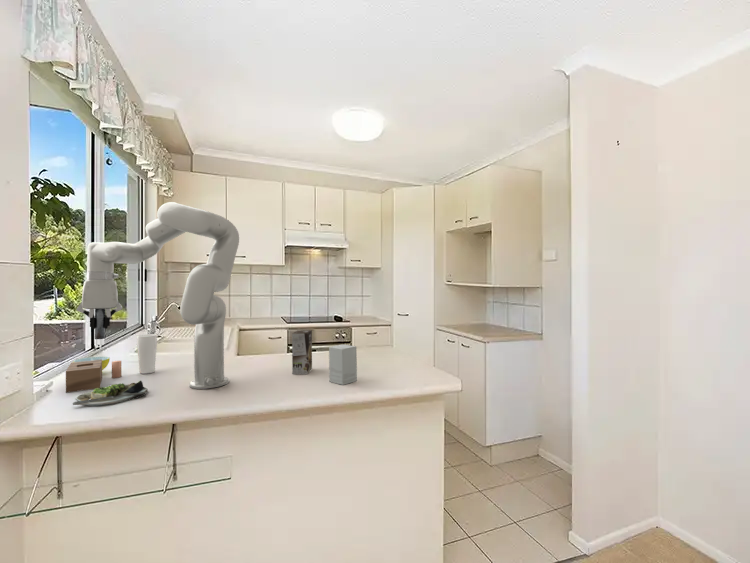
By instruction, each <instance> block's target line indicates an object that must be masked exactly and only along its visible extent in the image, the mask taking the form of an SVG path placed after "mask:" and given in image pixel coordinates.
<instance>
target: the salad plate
mask: <svg viewBox="0 0 750 563" xmlns="http://www.w3.org/2000/svg"><path fill="white" fill-rule="evenodd" d="M145 393H146V394H147V393H149V389H148V388H147V387H145V386H144V384H143V381H142V380H138V381H137V382H132V383H129V384H128V383H127V384H125V383H123V382H122V383H118V384H117V383H115V384H111V385H107V386H106V387H104V386H102V387H101V386H100V388H95V389H92V391H89V392H85V393H81V394H78V396H76V397H75V401H74V402H72V406H86V407H92V406H93V407H95V406H99V407H100V406H107V405H114V404H117V403H122V402H126V401H130V400H134V399H137V397H138V398H140V396H141V397H143V396H144V394H145ZM146 394H145V395H146ZM142 395H143V396H142ZM133 398H134V399H133ZM129 399H130V400H129Z"/></svg>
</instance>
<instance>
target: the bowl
mask: <svg viewBox="0 0 750 563" xmlns="http://www.w3.org/2000/svg"><path fill="white" fill-rule="evenodd" d="M101 359H102V371H103V370H105V369H106V368H107V367H108V365H109V363H110V359H111V358H110V356H89V357H83V358H78V359H74V360H73V361H72V363H73V362H82V361H92V360H101Z"/></svg>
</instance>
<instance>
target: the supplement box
mask: <svg viewBox="0 0 750 563" xmlns="http://www.w3.org/2000/svg"><path fill="white" fill-rule="evenodd" d="M357 358H358V357H357V346H355V345H349V344H339V345H333V346H329V347H328V359H329V360H328V366H329V367H328V368H329V370H328V371H329V373H328V374H329V376H328V377H329V382H331V383H334V384H338V385H341V386H342V385H343V386H344V385H347V384H351V383H355V382H357V381H358V372H357V371H358V366H357V363H358V362H357V360H358V359H357Z"/></svg>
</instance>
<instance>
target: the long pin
mask: <svg viewBox="0 0 750 563" xmlns="http://www.w3.org/2000/svg"><path fill="white" fill-rule="evenodd" d="M94 317H95V329H94V340H103V339H106V329H105V317H106V309H94Z"/></svg>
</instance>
